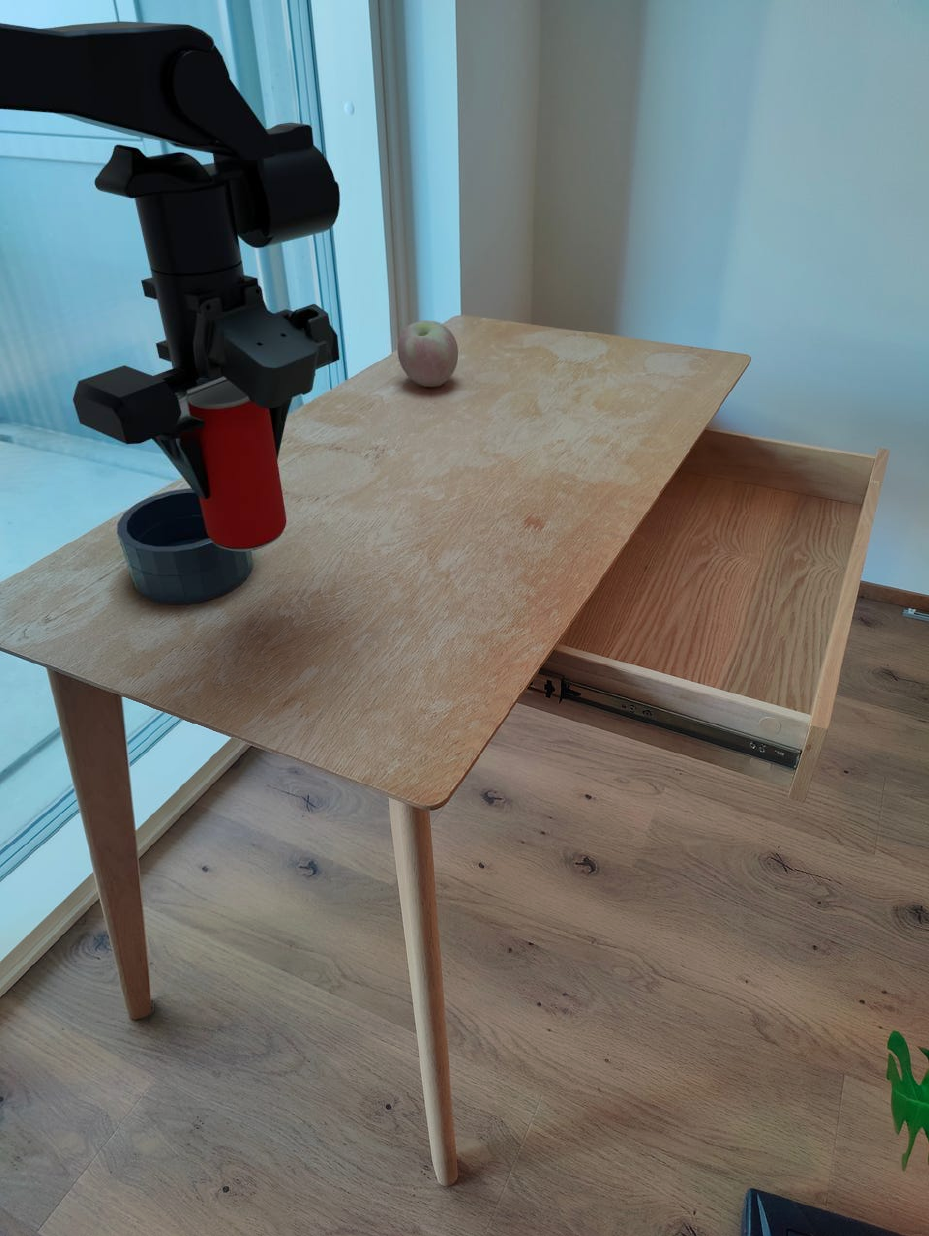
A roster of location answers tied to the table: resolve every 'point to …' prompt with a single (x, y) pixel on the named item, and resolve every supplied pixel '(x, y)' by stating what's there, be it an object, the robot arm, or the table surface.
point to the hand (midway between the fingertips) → (237, 480)
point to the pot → (177, 551)
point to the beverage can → (239, 469)
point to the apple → (428, 353)
